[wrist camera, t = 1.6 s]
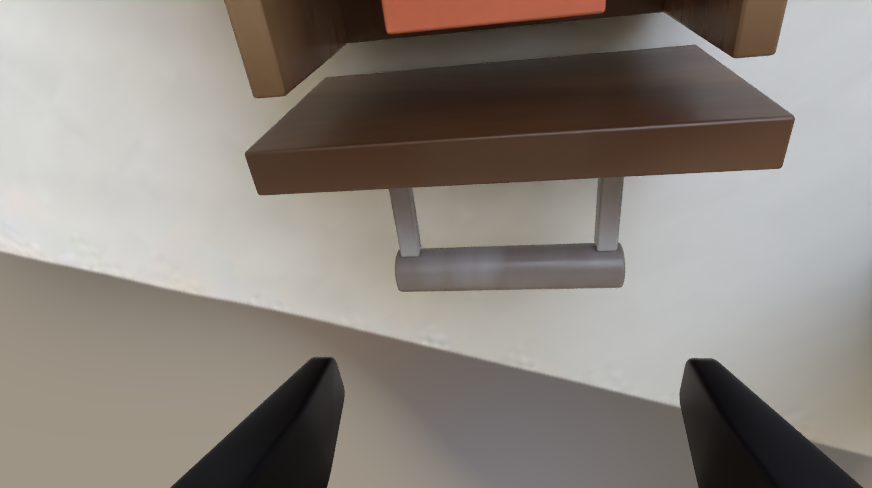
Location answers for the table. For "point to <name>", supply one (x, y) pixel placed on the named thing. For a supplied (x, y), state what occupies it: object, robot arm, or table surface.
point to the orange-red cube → (477, 12)
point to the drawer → (508, 125)
